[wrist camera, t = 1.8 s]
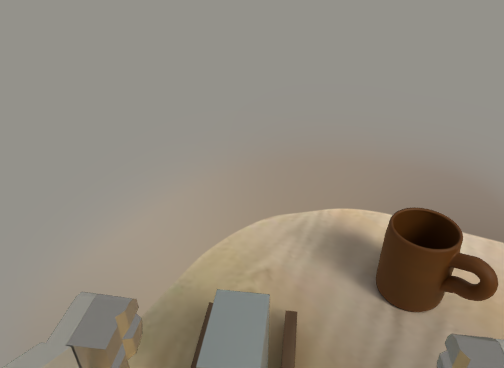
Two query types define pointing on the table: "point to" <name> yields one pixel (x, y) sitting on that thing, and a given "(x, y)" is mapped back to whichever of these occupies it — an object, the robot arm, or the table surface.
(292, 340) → the walnut cradle
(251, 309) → the tall grey rectangular block
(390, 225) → the mug
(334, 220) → the table surface
